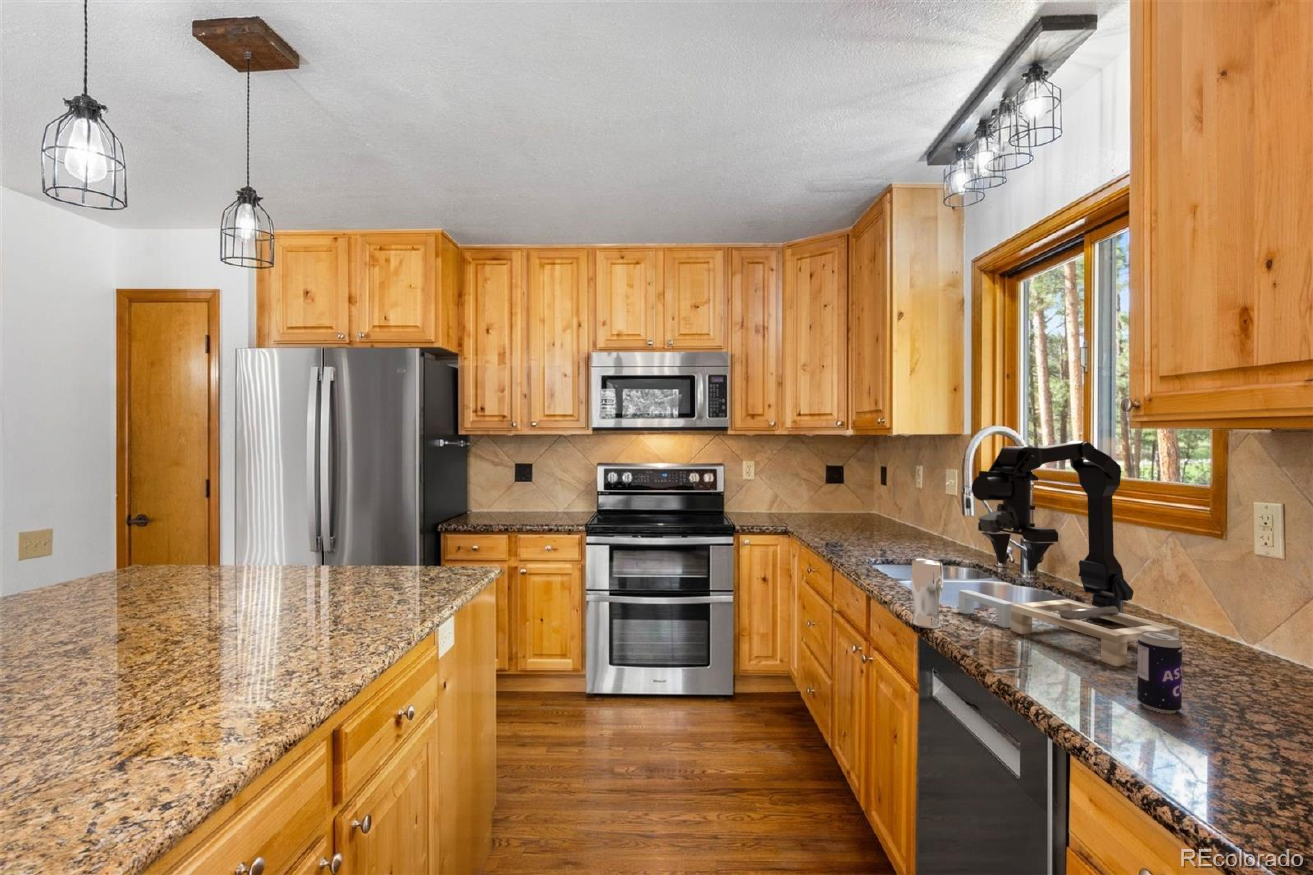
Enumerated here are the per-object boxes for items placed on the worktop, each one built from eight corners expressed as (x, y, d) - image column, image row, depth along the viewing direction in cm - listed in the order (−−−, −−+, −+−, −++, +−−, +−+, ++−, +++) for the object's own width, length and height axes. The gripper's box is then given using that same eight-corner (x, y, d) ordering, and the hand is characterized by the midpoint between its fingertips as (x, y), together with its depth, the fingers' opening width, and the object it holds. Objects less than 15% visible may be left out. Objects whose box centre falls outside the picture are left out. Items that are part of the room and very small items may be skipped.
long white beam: (967, 611, 161) (967, 589, 161) (1014, 626, 148) (1014, 603, 148) (958, 611, 160) (958, 590, 160) (1004, 627, 147) (1005, 604, 147)
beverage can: (1164, 717, 99) (1165, 642, 99) (1128, 703, 105) (1129, 631, 105) (1190, 713, 101) (1191, 639, 101) (1153, 699, 106) (1154, 629, 106)
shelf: (1067, 624, 151) (1068, 599, 151) (1178, 657, 128) (1178, 628, 128) (1010, 630, 145) (1010, 604, 145) (1116, 666, 122) (1116, 635, 122)
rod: (1109, 614, 140) (1109, 605, 140) (1118, 616, 138) (1118, 607, 138) (1060, 619, 135) (1060, 609, 135) (1068, 621, 133) (1068, 612, 133)
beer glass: (911, 627, 146) (912, 563, 146) (909, 619, 153) (910, 557, 153) (944, 630, 144) (945, 565, 144) (940, 622, 151) (941, 559, 151)
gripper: (959, 496, 154) (958, 560, 154) (1016, 504, 135) (1015, 576, 135) (998, 496, 156) (998, 559, 156) (1060, 504, 137) (1060, 575, 137)
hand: (1015, 567), depth 146 cm, fingers open, 9 cm apart
